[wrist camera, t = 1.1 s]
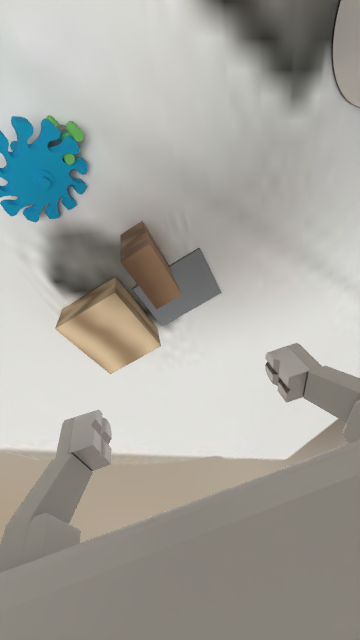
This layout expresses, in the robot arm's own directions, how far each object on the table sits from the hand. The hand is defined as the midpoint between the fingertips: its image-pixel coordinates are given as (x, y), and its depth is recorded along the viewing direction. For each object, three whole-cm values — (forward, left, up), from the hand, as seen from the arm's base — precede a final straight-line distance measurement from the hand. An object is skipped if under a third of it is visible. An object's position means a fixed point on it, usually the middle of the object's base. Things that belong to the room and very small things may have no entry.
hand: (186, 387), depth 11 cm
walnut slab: (+1, +2, -27) cm, 27 cm away
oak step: (+12, +9, -26) cm, 30 cm away
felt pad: (0, +11, -26) cm, 28 cm away
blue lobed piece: (+5, -11, -27) cm, 29 cm away
